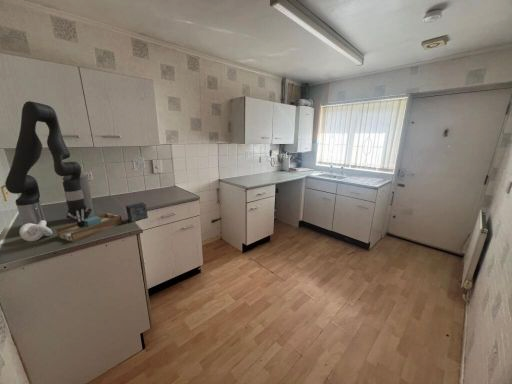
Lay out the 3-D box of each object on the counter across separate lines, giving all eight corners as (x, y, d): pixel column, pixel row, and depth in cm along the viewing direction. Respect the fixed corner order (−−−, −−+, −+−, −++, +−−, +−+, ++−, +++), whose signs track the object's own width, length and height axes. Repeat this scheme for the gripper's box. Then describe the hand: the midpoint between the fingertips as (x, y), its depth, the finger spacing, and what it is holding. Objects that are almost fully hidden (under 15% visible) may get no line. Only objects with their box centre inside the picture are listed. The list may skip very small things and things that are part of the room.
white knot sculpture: (60, 232, 120) (57, 218, 118) (40, 243, 109) (36, 227, 107) (40, 233, 120) (36, 218, 118) (18, 243, 109) (13, 227, 106)
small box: (144, 215, 147) (142, 201, 144) (148, 218, 143) (146, 203, 140) (127, 220, 139) (125, 205, 136) (131, 222, 135) (129, 207, 132)
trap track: (58, 237, 115) (56, 229, 114) (107, 219, 139) (106, 213, 138) (74, 242, 110) (71, 233, 109) (122, 223, 134) (121, 216, 133)
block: (84, 226, 122) (82, 220, 121) (96, 222, 128) (95, 216, 127) (89, 227, 120) (87, 221, 119) (101, 223, 126) (100, 217, 125)
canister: (68, 222, 134) (55, 169, 125) (78, 215, 146) (67, 166, 137) (91, 220, 138) (79, 168, 129) (99, 214, 149) (89, 166, 140)
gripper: (84, 194, 122) (90, 221, 126) (56, 200, 110) (63, 230, 114) (92, 195, 119) (98, 223, 123) (64, 202, 107) (71, 232, 112)
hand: (81, 227), depth 119 cm, fingers closed
